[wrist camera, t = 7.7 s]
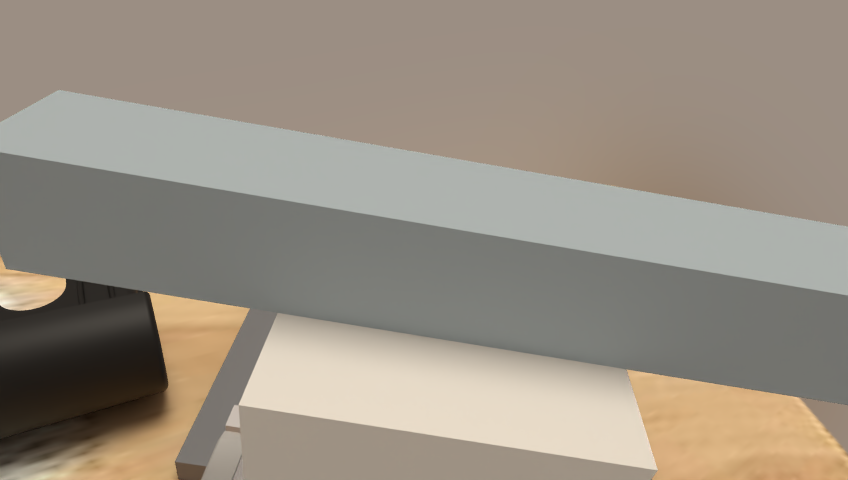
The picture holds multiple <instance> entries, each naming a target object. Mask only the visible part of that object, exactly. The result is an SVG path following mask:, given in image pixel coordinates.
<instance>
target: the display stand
mask: <svg viewBox="0 0 848 480" xmlns="http://www.w3.org/2000/svg"><path fill="white" fill-rule="evenodd" d="M0 254H1V257H2V259H3V262H4V265H5V267H6V269H10V270H17V271H23V272H29V273H35V274H41V275H48V276H54V277H60V278H66V279H72V280H78V281H85V282H91V283H97V284H103V285H109V286H115V287H122V288H128V289H134V290H140V291H146V292H152V293H159V294H165V295H171V296H177V297H183V298H190V299H196V300H202V301H208V302H214V303H220V304H227V305H233V306H239V307H245V308H251V309H257V310H264V311H270V312H276V313H277V316H276V318H275V320H274V323H273V325H272V327H271V330H270V332H269V334H268V337H267V339H266V342H265V344H264V346H263V349H262V351H261V353H260V356H259V358H258V360H257V363H256V365H255V367H254V370H253V372H252V374H251V377H250V379H249V381H248V384H247V386H246V388H245V391H244V393H243V396H242V398H241V400H240V403H239V419H240V433H241V447H242V461H243V475H244V480H651V479H652V478H653V476H654V475H655V473H656V472H657V471H658V470H657V466H656V463H655V460H654V457H653V453H652V450H651V447H650V444H649V441H648V437H647V434H646V431H645V428H644V424H643V421H642V418H641V415H640V412H639V408H638V405H637V402H636V399H635V395H634V392H633V389H632V386H631V383H630V379H629V376H628V373H627V370H626V369H628V370H634V371H640V372H646V373H653V374H659V375H665V376H671V377H677V378H683V379H690V380H696V381H702V382H708V383H714V384H721V385H727V386H733V387H739V388H745V389H751V390H758V391H764V392H770V393H776V394H782V395H788V396H795V397H801V398H807V399H813V400H820V401H825V402H832V403H838V404H844V405H848V227H845V226H840V225H834V224H828V223H823V222H817V221H811V220H805V219H800V218H794V217H788V216H783V215H777V214H771V213H765V212H759V211H753V210H748V209H742V208H736V207H730V206H725V205H719V204H713V203H708V202H702V201H696V200H690V199H684V198H679V197H672V196H666V195H661V194H655V193H649V192H644V191H638V190H633V189H626V188H621V187H615V186H609V185H604V184H598V183H592V182H586V181H580V180H575V179H569V178H563V177H558V176H551V175H546V174H540V173H534V172H528V171H523V170H517V169H511V168H506V167H500V166H494V165H488V164H482V163H476V162H471V161H465V160H459V159H454V158H447V157H442V156H436V155H431V154H425V153H419V152H413V151H408V150H401V149H396V148H390V147H384V146H379V145H373V144H367V143H361V142H356V141H350V140H344V139H338V138H333V137H327V136H321V135H315V134H309V133H304V132H298V131H292V130H286V129H281V128H275V127H269V126H263V125H257V124H252V123H246V122H240V121H234V120H228V119H223V118H216V117H211V116H205V115H200V114H193V113H188V112H182V111H176V110H171V109H165V108H159V107H153V106H148V105H142V104H136V103H130V102H124V101H119V100H113V99H107V98H101V97H96V96H90V95H84V94H79V93H73V92H67V91H61V90H58V91H56V92H54V93H53V94H51V95H49V96H47V97H45V98H44V99H42V100H40V101H38V102H37V103H35V104H33V105H31V106H29V107H27V108H26V109H24V110H22V111H20V112H18V113H16V114H15V115H13V116H11V117H9V118H8V119H6V120H4V121H2V122H0Z"/></svg>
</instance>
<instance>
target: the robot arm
mask: <svg viewBox="0 0 848 480" xmlns="http://www.w3.org/2000/svg"><path fill="white" fill-rule="evenodd" d="M201 480H244V475H243V461H242V447H241V433H238V432H231V431H224V433H223V434H222V435H221V437H220V438H219V439H218V442H217V444H216V446H215V449H214V451H213V453H212V455H211V458H210V460H209V462H208V465H207V467H206V469H205V471H204V474H203V476H202V478H201Z"/></svg>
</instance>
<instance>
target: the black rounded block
mask: <svg viewBox="0 0 848 480" xmlns="http://www.w3.org/2000/svg"><path fill="white" fill-rule="evenodd" d="M167 387H168V379H167V373H166V368H165V363H164V358H163V353H162V348H161V343H160V339H159V334H158V329H157V325H156V320H155V316H154V311H153V307H152V302H151V298H150V295H149V293H148V292H143V291H140V290H134V289H128V288H122V287H115V286H109V285H103V284H97V283H91V282H85V281H78V280H72V279H66V288H65V291H64V292H63V294H62V295H61V296H60V297H59V298H57V299H56V300H55V301H53V302H51V303H49V304H47V305H45V306H42V307H40V308H36V309H32V310H25V311H14V310H8V309H5V308H3V307H1V306H0V439H1V438H5V437H8V436H12V435H15V434H18V433H22V432H25V431H29V430H32V429H36V428H39V427H42V426H46V425H49V424H53V423H56V422H60V421H63V420H66V419H70V418H73V417H77V416H80V415H83V414H87V413H90V412H94V411H97V410H101V409H104V408H107V407H111V406H114V405H118V404H121V403H125V402H128V401H131V400H135V399H138V398H142V397H145V396H149V395H152V394H155V393H159V392H162V391H165V390H166V389H167Z"/></svg>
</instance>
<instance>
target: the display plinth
mask: <svg viewBox="0 0 848 480" xmlns="http://www.w3.org/2000/svg"><path fill="white" fill-rule="evenodd" d="M276 316H277V313H276V312H270V311H264V310H257V309H251V308H250V310H249V312H248V314H247V316H246V318H245V320H244V322H243V324H242V326H241V328H240V330H239V332H238V334H237V336H236V338H235V340H234V343H233V345H232V347H231V349H230V351H229V353H228V355H227V357H226V359H225V361H224V363H223V365H222V367H221V369H220V371H219V373H218V375H217V377H216V379H215V381H214V383H213V385H212V387H211V389H210V391H209V393H208V395H207V398H206V400H205V402H204V404H203V406H202V408H201V410H200V412H199V414H198V416H197V418H196V420H195V422H194V424H193V426H192V428H191V430H190V432H189V434H188V436H187V438H186V440H185V442H184V444H183V446H182V448H181V450H180V452H179V455H178V457H177V459H176V461H175V464H176V469H177V474H178V479H182V480H201V478H202V476H203V474H204V471H205V469H206V467H207V465H208V462H209V460H210V458H211V455H212V453H213V451H214V449H215V446H216V444H217V442H218V439H219V438H220V437H221V435H222V434H223V433H224V431H231V432H238V433H240V419H239V403H240V400H241V398H242V396H243V393H244V391H245V388H246V386H247V384H248V381H249V379H250V377H251V374H252V372H253V370H254V367H255V365H256V363H257V360H258V358H259V356H260V353H261V351H262V349H263V346H264V344H265V342H266V339H267V337H268V334H269V332H270V330H271V327H272V325H273V323H274V320H275V318H276ZM651 480H652V479H651Z"/></svg>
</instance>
